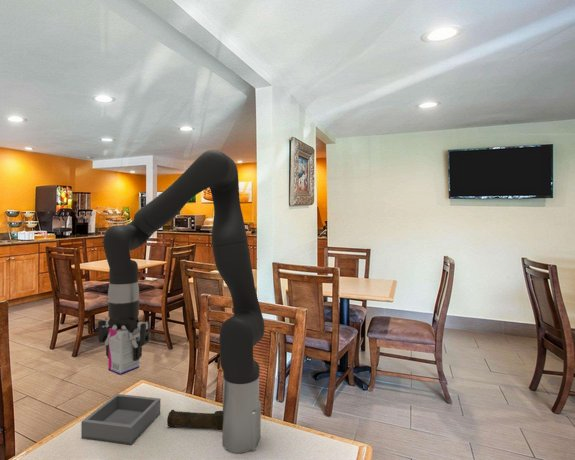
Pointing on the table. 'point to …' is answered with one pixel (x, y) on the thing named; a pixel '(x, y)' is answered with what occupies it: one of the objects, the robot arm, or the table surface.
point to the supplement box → (121, 352)
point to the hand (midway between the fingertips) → (123, 358)
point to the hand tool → (196, 419)
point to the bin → (121, 419)
